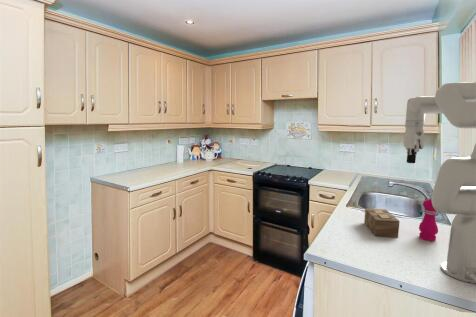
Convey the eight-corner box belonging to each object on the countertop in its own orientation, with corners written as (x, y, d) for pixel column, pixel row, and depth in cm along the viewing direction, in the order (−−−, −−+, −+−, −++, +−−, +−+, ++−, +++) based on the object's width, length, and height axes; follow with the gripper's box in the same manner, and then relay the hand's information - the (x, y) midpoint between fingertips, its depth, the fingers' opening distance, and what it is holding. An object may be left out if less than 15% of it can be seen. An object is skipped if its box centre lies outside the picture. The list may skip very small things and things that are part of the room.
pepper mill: (440, 242, 121) (445, 198, 118) (422, 241, 123) (426, 198, 120) (432, 235, 128) (436, 194, 125) (415, 234, 130) (419, 193, 127)
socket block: (398, 237, 126) (399, 220, 125) (375, 236, 128) (376, 219, 126) (384, 224, 142) (385, 208, 141) (364, 223, 143) (365, 208, 142)
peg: (388, 234, 129) (390, 217, 128) (380, 233, 130) (381, 217, 128) (385, 230, 133) (386, 214, 132) (377, 230, 133) (378, 214, 132)
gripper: (432, 125, 121) (427, 165, 124) (415, 124, 136) (411, 160, 139) (413, 125, 122) (409, 165, 125) (398, 124, 137) (395, 160, 140)
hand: (410, 162), depth 132 cm, fingers closed
